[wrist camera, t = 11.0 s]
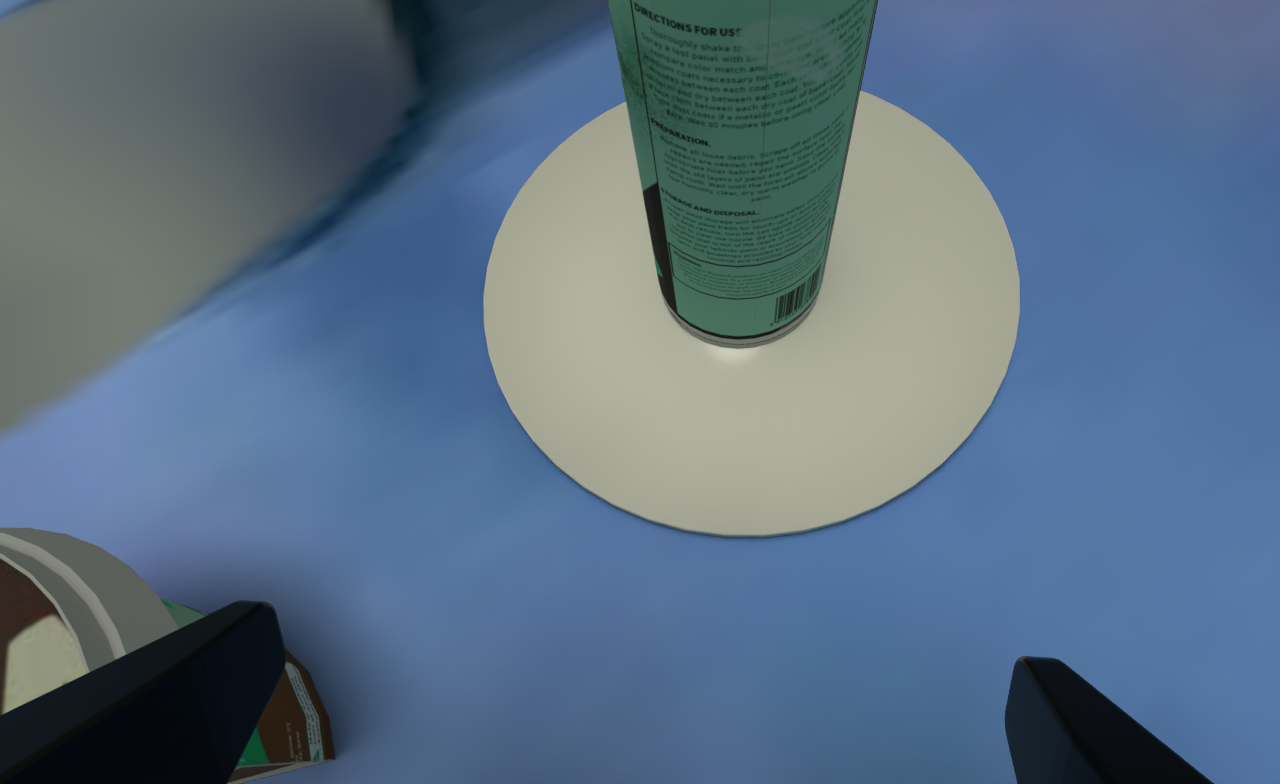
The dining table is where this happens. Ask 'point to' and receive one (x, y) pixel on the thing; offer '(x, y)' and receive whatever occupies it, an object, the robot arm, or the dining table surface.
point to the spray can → (741, 150)
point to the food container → (124, 641)
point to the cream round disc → (765, 375)
